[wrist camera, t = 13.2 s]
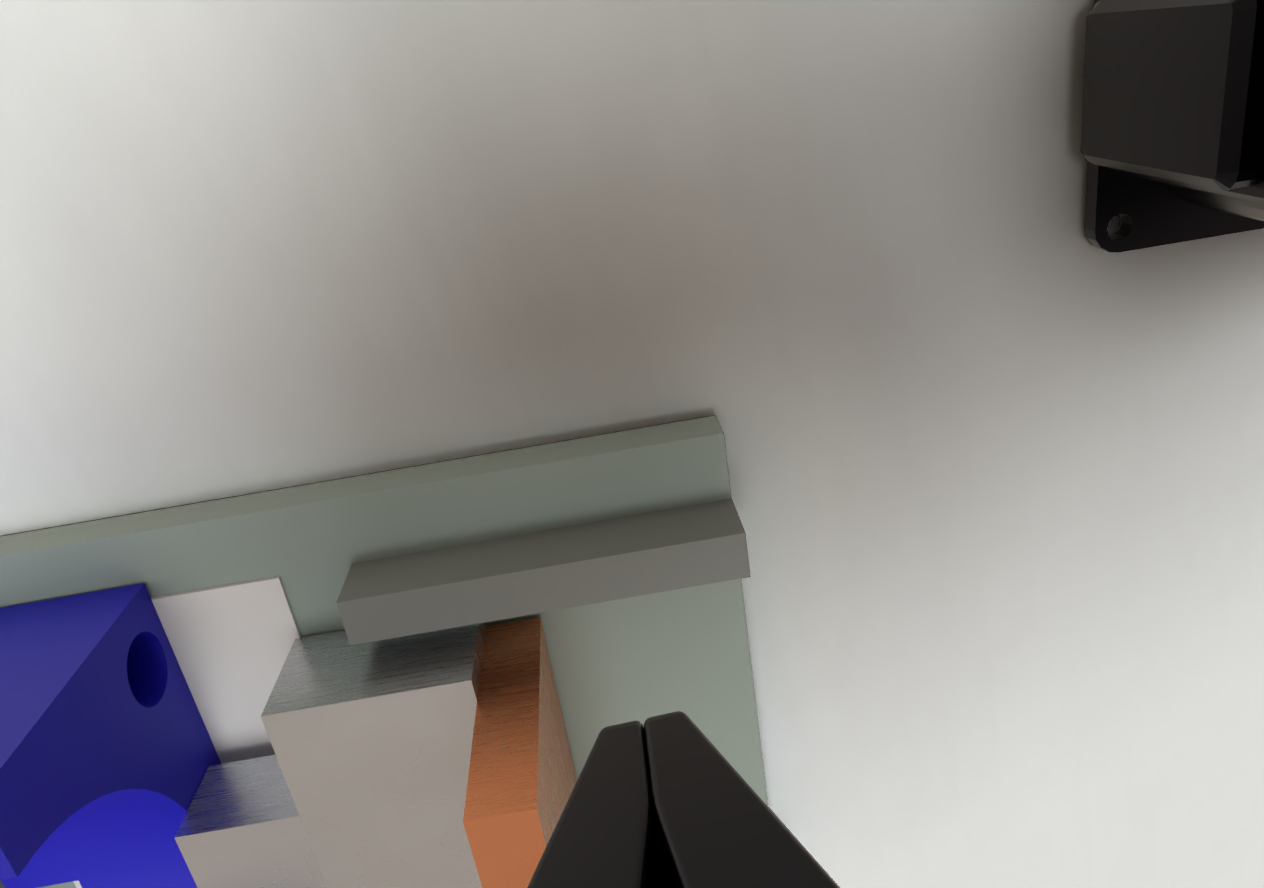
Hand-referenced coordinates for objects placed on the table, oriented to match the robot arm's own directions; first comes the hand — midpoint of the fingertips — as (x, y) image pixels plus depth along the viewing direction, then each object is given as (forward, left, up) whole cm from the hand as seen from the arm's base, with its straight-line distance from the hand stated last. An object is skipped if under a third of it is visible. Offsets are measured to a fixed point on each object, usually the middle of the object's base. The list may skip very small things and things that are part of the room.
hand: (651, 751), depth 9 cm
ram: (+6, +8, -10) cm, 14 cm away
